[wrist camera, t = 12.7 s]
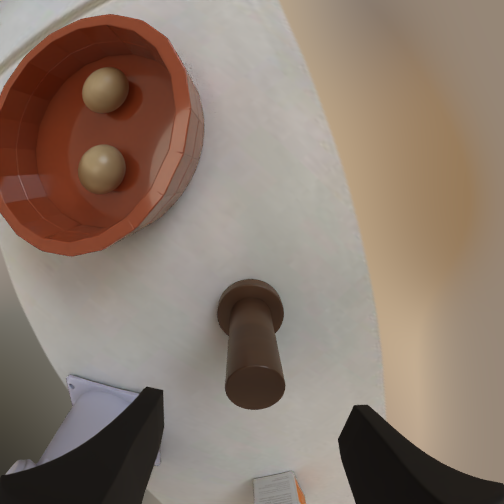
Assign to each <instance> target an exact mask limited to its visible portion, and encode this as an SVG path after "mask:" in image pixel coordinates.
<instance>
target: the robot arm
mask: <svg viewBox="0 0 504 504" xmlns="http://www.w3.org/2000/svg"><path fill="white" fill-rule="evenodd" d="M66 381H67V385H68V390H69V394H70V398H71V402H72V406H73V407H72V408H71V410H70V411H69V413H68V414H67V416H66V418H65V419H64V421H63V422H62V424H61V426H60V427H59V429H58V430H57V432H56V433H55V435H54V437H53V438H52V440H51V442H50V443H49V445H48V447H47V448H46V450H45V452H44V453H43V455H42V457H41V458H40V460H39V462H38V463H37V464H35V463H34V462H32V461H31V460H30V459H27V460H18V461H17V462H16V463H15V464H14V465H13V466H12V467H11V468H10V470H9V471H8V472H7V473H6V475H2V476H1V477H0V504H142V500H143V496H144V492H145V490H146V487H147V484H148V481H149V478H150V475H151V472H152V469H153V466H159V465H160V464H161V457H160V444H161V439H162V434H163V429H164V409H163V390H159V389H154V388H150V387H146V388H144V389H143V391H142V392H141V393H140V394H139V393H134V392H130V391H126V390H122V389H118V388H114V387H110V386H107V385H103V384H100V383H96V382H93V381H89V380H86V379H83V378H80V377H76V376H73V375H68V376H67V378H66ZM338 443H339V449H340V455H341V460H342V463H343V466H344V469H345V472H346V476H347V478H348V481H349V484H350V487H351V490H352V493H353V496H354V499H355V503H356V504H504V485H503V483H498V482H493V481H487V480H483V479H480V478H476V477H473V476H470V475H467V474H465V473H462V472H460V471H457V470H455V469H453V468H451V467H449V466H447V465H445V464H443V463H441V462H439V461H437V460H436V459H434V458H432V457H431V456H429V455H427V454H426V453H425V452H423V451H422V450H420V449H419V448H418V447H416V446H415V445H414V444H412V443H411V442H410V441H409V440H407V439H406V438H405V437H404V436H402V435H401V434H400V433H399V432H398V431H397V430H395V429H394V428H393V427H392V426H391V425H390V424H389V423H388V422H386V421H385V420H384V419H383V418H382V417H381V416H380V415H379V414H378V413H377V412H375V411H374V410H373V409H372V408H371V407H370V406H368V405H354V406H353V409H352V411H351V413H350V415H349V417H348V419H347V422H346V424H345V426H344V428H343V430H342V432H341V434H340V436H339V438H338Z"/></svg>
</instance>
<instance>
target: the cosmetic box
mask: <svg viewBox="0 0 504 504" xmlns="http://www.w3.org/2000/svg"><path fill="white" fill-rule="evenodd" d="M253 493H254V504H306V501H305V495H304V493H303V492H302V490H301V488H300V486H299V484H298V482H297V480H296V477H295V475H294V473H293V472H292V471H289V472H285V473H281V474H276V475H272V476H267V477H261V478H256V479H253Z"/></svg>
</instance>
